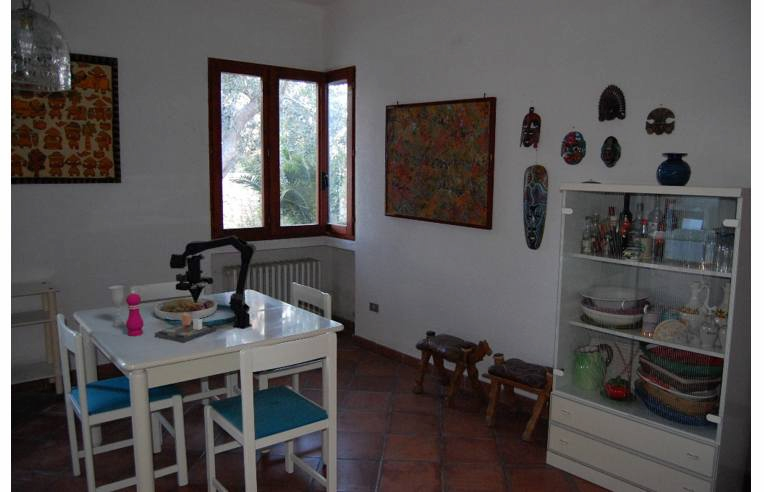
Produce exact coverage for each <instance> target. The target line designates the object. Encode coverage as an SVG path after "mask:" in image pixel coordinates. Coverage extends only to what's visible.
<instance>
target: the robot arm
mask: <svg viewBox="0 0 764 492" xmlns="http://www.w3.org/2000/svg"><path fill="white" fill-rule="evenodd" d="M228 246H231V247H233V248H234V249H235V250H237V251H238V252H240V267H239V268H240V269H239V274H238V278H237V284H236V288H235V292H233V293H232V294H231V295H230V300H229V303H228V305H229V308H230V310H231V311H232V312H233V314H234V317H233V318H234V320H233V321H234V323H233V324H234V325H232V328H237V329H238V328H239V329H246V328H249V327H251V326H253V324H252V323H250V322H251V321H250V320H251V319H250V317H251V315H250V313H249V311H250V308H251V307H250V306H249V305H248V304H247V303H246V294H245V293H246V292H245V291H246V286H247V282H248V278H249V272H250V269H251V268H250V267H251V263H252V261H253V259H254V257H255V255H256V251H257V248H256V245H254V243H251V242H249V243H248V242H247V241H246V240H243V239H242V238H240V237H238V236H236V235H231V236H226V237H221V238H214V239H211V240H210V239H209V240H192V241H191V242H189V243H187V244H186V245H185V247H184V249H185V251H184V252H183V253H181V254H178V253H172V254H171V257H170V260H169V267H170V269H175V270H177V269H179V270H180V269H183V270H184V269H185V268H186V267H187V270H186V271H185V274H182V273H177V274H176V275H175V281H176V282H177V283H176V284H175V290H176V291H184V292H185V291H189V293H190V295H191V298H193V300H194V302H197V300H198V298H199V297H200V296H201V294H202V292H203V290H204V288H205V287H206V286H205V285H203V284H205V283H207V285H212V284H214V279H213V277H212V276H211V277H210V276H202V274H203V272H204V270H201V269H202V266H201V264H202V263H201V260H202V261H203V260H204V259H205V258H206V257H205V256H204V255H203V254H202V253H203V252H205V251H207V250H208V251H209V250H211V249H217V248H223V247H228ZM199 253H200V254H199ZM197 254H198V255H197Z"/></svg>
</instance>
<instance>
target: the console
mask: <svg viewBox="0 0 764 492" xmlns="http://www.w3.org/2000/svg"><path fill="white" fill-rule="evenodd" d="M191 323H193V320H191ZM204 324H205V325H202V329H199V330H197V329H193V325H183V324H182V323H179V324H177V325H174V326H171V327H168V328H165V329H161V330H160V331H156V332H154V337H155V338H158V339H162V340H163V339H164V340H167V341H172V342H176V343H183V344H184V343H187V341H188V342H190V341H193V340H195V338H196V339H198V338H200V337H203V336H206V335H210V334H211V333H214V332H217V326H216V325H213V324H210V323H204Z"/></svg>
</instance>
